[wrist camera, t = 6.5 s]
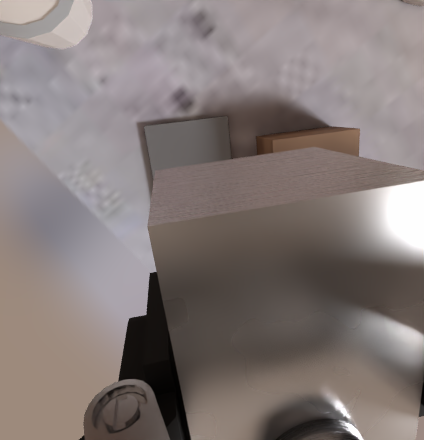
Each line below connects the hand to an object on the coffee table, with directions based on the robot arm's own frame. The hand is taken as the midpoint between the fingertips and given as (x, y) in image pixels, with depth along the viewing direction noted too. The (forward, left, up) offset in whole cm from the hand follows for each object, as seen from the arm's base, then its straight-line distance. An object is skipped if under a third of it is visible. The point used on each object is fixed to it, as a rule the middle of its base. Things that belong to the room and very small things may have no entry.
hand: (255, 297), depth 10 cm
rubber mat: (0, 0, -19) cm, 19 cm away
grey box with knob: (0, 0, -1) cm, 1 cm away
